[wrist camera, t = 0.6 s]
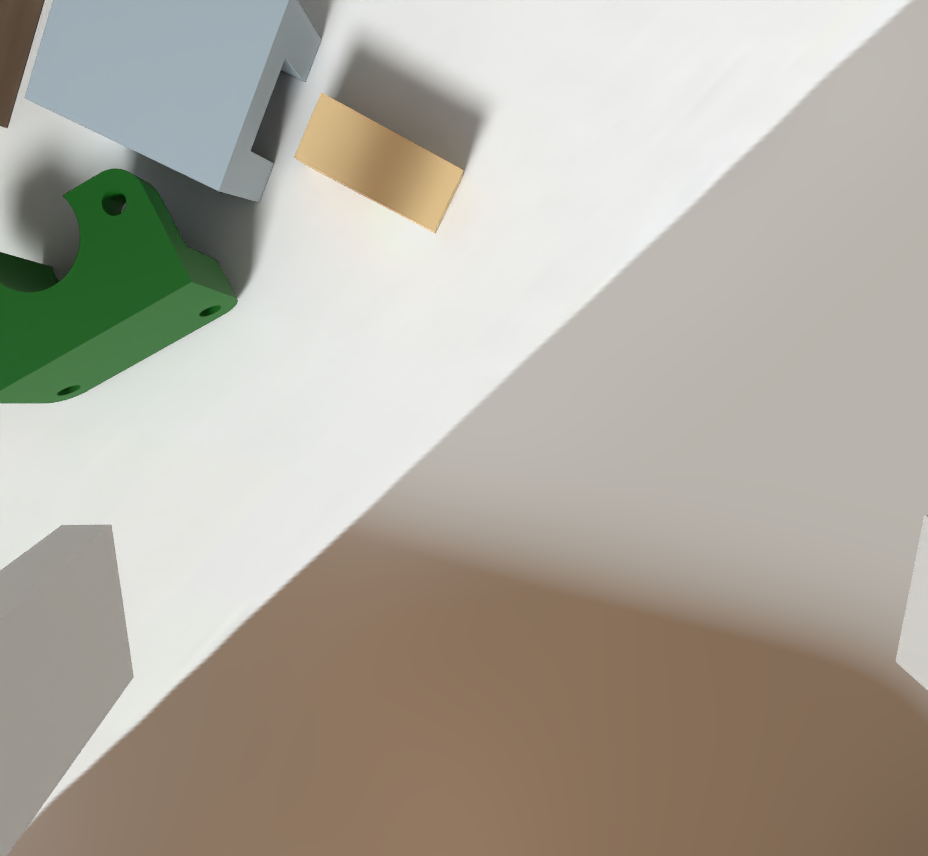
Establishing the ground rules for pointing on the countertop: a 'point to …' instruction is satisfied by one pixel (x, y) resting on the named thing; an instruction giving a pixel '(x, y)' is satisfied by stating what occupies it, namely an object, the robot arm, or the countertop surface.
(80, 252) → the clamp
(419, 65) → the countertop surface
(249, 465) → the countertop surface
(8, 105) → the wall
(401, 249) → the countertop surface
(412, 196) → the tan rectangular bar
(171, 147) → the block
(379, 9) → the countertop surface
